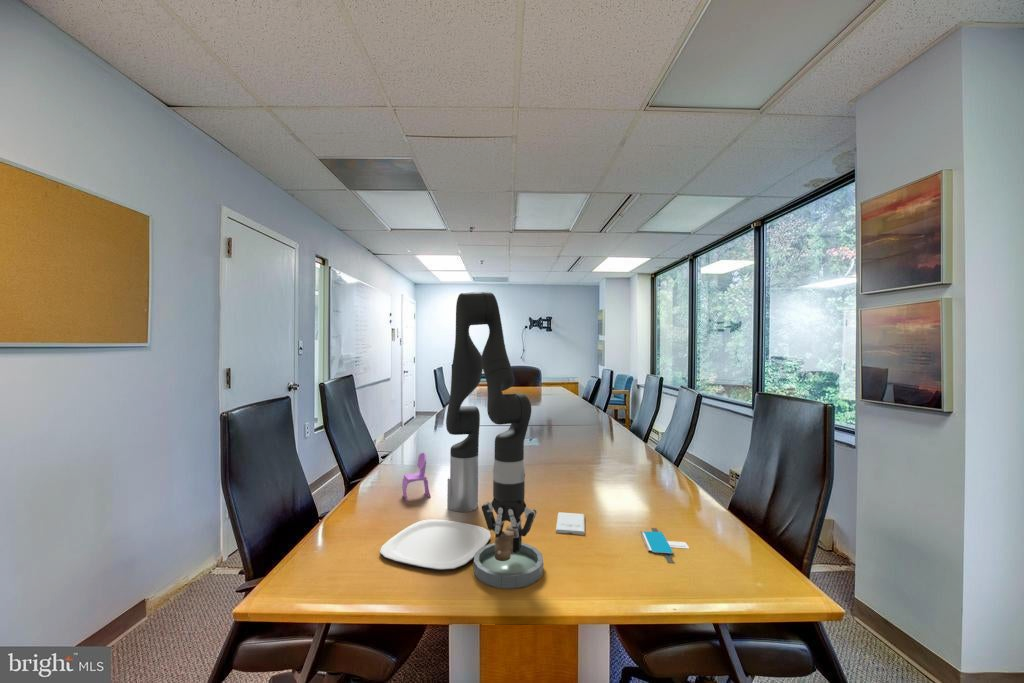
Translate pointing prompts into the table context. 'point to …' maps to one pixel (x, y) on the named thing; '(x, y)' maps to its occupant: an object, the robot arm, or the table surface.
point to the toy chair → (417, 476)
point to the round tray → (508, 567)
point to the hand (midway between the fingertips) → (508, 549)
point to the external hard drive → (570, 523)
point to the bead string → (504, 544)
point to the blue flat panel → (661, 543)
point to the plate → (436, 544)
